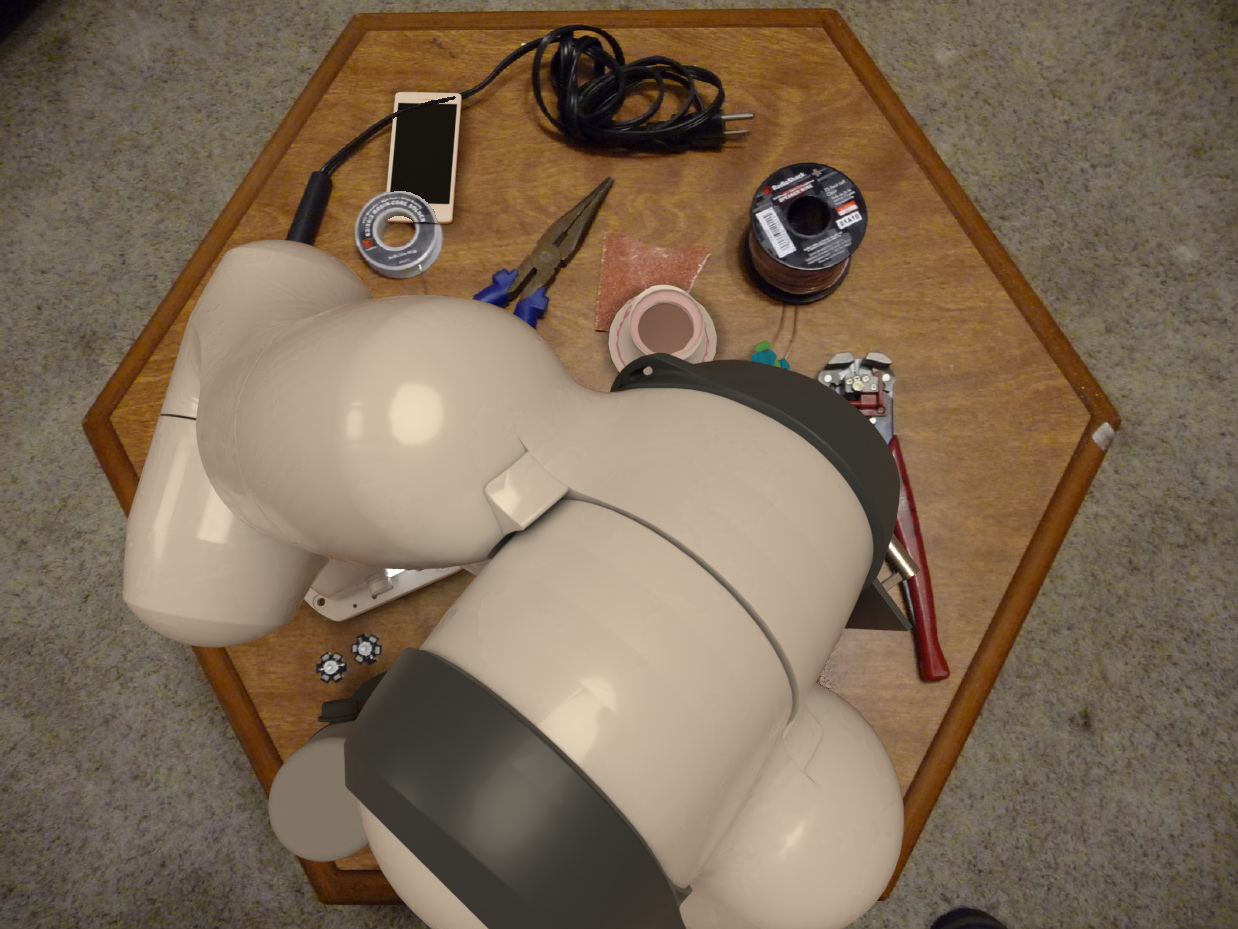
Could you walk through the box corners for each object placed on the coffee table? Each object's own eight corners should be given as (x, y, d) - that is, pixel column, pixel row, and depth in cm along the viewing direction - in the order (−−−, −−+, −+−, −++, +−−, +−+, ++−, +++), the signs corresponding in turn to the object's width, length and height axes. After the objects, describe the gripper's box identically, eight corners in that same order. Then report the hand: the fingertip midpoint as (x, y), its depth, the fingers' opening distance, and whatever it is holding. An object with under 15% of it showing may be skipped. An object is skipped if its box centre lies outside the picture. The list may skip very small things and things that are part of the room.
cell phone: (385, 222, 85) (383, 219, 84) (396, 94, 87) (395, 91, 86) (452, 223, 84) (451, 221, 84) (462, 96, 87) (461, 92, 86)
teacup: (733, 370, 81) (741, 354, 75) (632, 410, 81) (632, 397, 75) (691, 275, 83) (696, 251, 77) (592, 313, 83) (589, 292, 76)
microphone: (466, 795, 75) (384, 901, 50) (340, 803, 75) (196, 913, 50) (462, 664, 77) (381, 704, 52) (339, 672, 77) (199, 716, 52)
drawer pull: (907, 631, 57) (952, 597, 57) (816, 507, 58) (861, 475, 59) (842, 628, 71) (879, 601, 71) (770, 529, 72) (807, 503, 73)
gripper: (763, 819, 62) (863, 691, 64) (581, 658, 65) (682, 538, 66) (752, 798, 69) (843, 681, 70) (586, 651, 71) (678, 541, 73)
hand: (763, 610), depth 68 cm, fingers closed on canister, 5 cm apart
